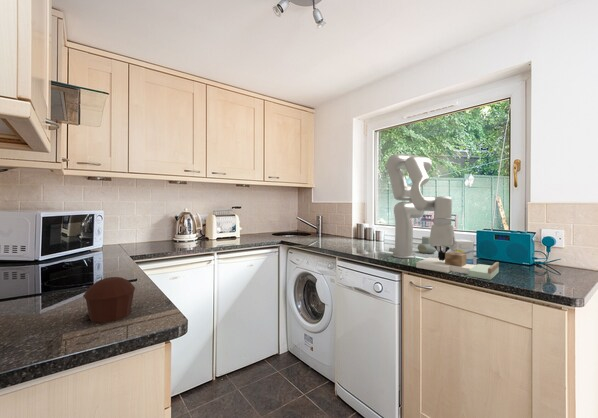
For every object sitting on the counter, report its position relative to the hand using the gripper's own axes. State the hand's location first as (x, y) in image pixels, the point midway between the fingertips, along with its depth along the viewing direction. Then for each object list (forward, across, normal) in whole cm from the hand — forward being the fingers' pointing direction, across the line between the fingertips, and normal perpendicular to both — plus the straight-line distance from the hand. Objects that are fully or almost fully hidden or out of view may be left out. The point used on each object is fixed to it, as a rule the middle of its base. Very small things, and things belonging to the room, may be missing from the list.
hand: (441, 260), depth 135 cm
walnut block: (+1, +6, 0) cm, 6 cm away
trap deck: (+4, +6, 0) cm, 7 cm away
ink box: (+4, +3, +22) cm, 22 cm away
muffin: (+4, -43, -126) cm, 134 cm away
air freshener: (+4, -20, +36) cm, 42 cm away
